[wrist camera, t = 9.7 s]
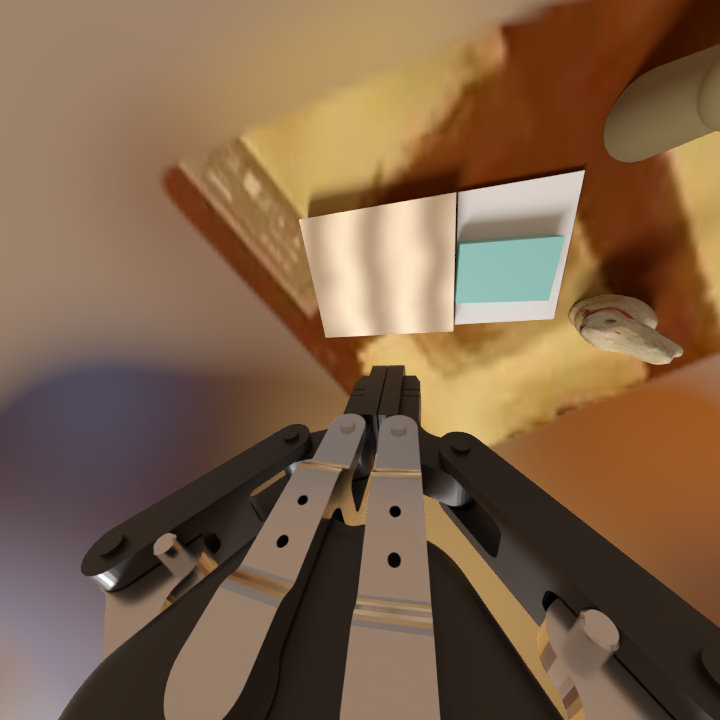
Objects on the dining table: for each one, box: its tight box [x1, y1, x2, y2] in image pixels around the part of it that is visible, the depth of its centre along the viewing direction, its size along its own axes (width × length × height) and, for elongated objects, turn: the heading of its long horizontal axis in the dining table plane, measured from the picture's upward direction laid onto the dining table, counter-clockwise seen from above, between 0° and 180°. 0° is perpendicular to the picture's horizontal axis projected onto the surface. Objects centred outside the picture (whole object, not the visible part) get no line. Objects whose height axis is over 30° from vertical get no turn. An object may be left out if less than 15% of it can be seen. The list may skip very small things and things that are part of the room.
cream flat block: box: [299, 192, 456, 338], centre depth 31 cm, size 16×14×2 cm
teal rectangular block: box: [454, 234, 565, 303], centre depth 28 cm, size 9×6×2 cm, turn 95°
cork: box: [603, 44, 720, 163], centre depth 17 cm, size 6×6×11 cm
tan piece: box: [568, 294, 683, 364], centre depth 25 cm, size 6×8×10 cm
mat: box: [455, 170, 585, 324], centre depth 28 cm, size 11×14×1 cm
